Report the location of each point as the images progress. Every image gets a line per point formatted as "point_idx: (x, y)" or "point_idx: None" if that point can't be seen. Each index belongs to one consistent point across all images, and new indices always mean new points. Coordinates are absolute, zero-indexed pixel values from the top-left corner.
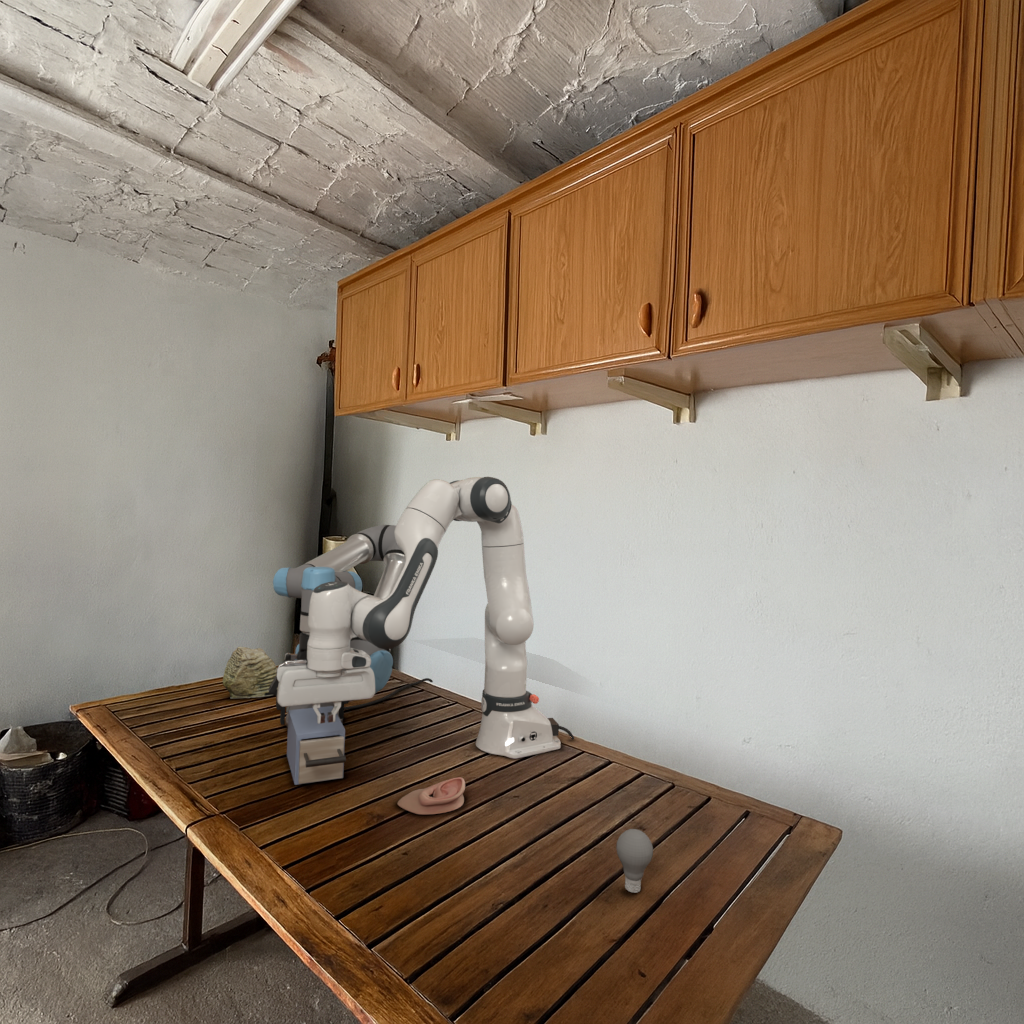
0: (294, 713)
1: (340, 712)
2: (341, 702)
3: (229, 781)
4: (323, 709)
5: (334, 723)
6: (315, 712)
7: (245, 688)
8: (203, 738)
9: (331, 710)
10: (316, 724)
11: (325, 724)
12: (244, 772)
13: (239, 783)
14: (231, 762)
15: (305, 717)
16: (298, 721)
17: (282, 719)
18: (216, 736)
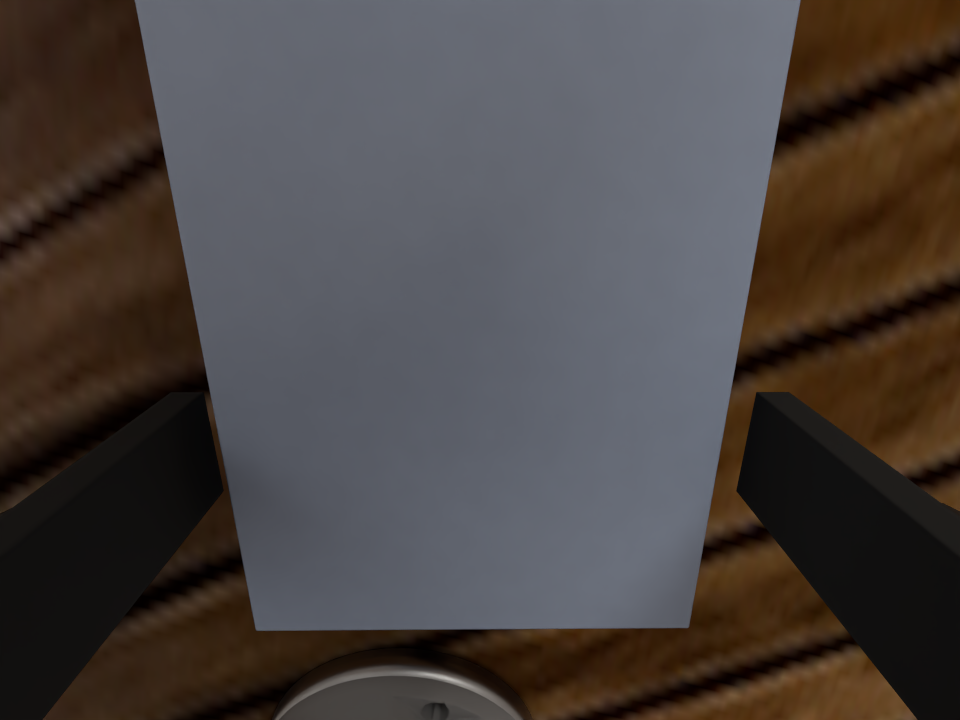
0: (657, 532)
1: (171, 439)
2: (72, 494)
3: (952, 173)
4: (353, 562)
5: (242, 36)
6: (444, 503)
7: None
8: (895, 703)
9: (270, 516)
10: (488, 81)
11: (369, 33)
12: (845, 272)
13: (913, 123)
14: (866, 420)
15: (575, 383)
16: (681, 270)
17: (811, 414)
18: (840, 709)
